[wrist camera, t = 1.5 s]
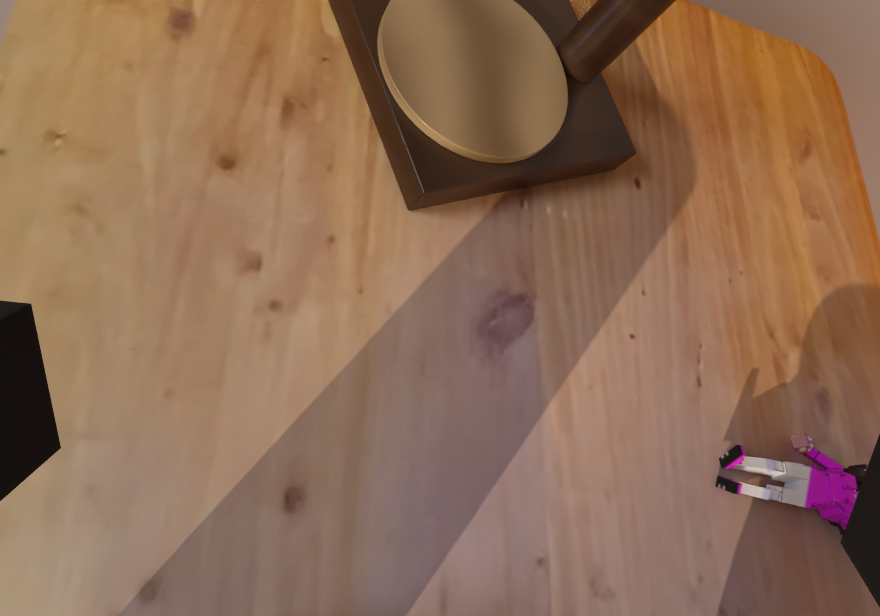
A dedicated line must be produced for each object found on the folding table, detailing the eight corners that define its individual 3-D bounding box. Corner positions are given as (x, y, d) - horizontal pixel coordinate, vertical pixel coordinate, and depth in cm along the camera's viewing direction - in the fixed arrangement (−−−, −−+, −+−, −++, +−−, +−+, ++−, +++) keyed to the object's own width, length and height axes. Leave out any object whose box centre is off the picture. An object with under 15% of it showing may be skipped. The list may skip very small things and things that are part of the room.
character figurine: (703, 524, 35) (883, 561, 38) (775, 517, 31) (974, 559, 33) (701, 419, 37) (871, 461, 40) (768, 399, 33) (954, 447, 36)
